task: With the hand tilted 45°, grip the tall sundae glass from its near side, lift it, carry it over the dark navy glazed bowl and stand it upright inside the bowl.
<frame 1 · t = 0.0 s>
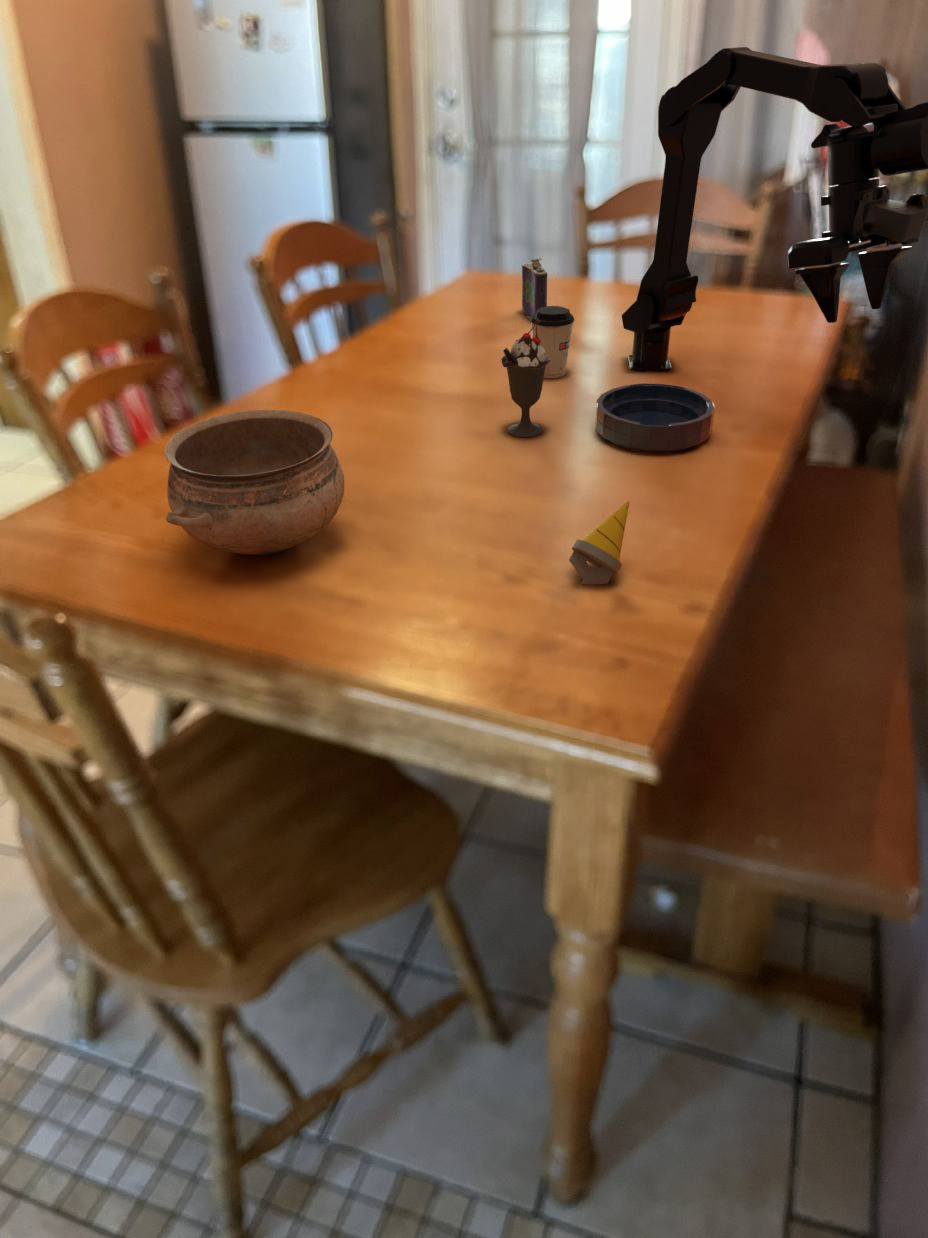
hand: (854, 315, 117), 15 cm above the table, tool pointing down, fingers open, 9 cm apart
drill bit: (597, 572, 96), on the table
flask: (534, 318, 173), on the table
cooking pot: (266, 542, 103), on the table
sundae: (525, 431, 128), on the table
coffee cup: (550, 374, 147), on the table
bowl: (652, 432, 126), on the table
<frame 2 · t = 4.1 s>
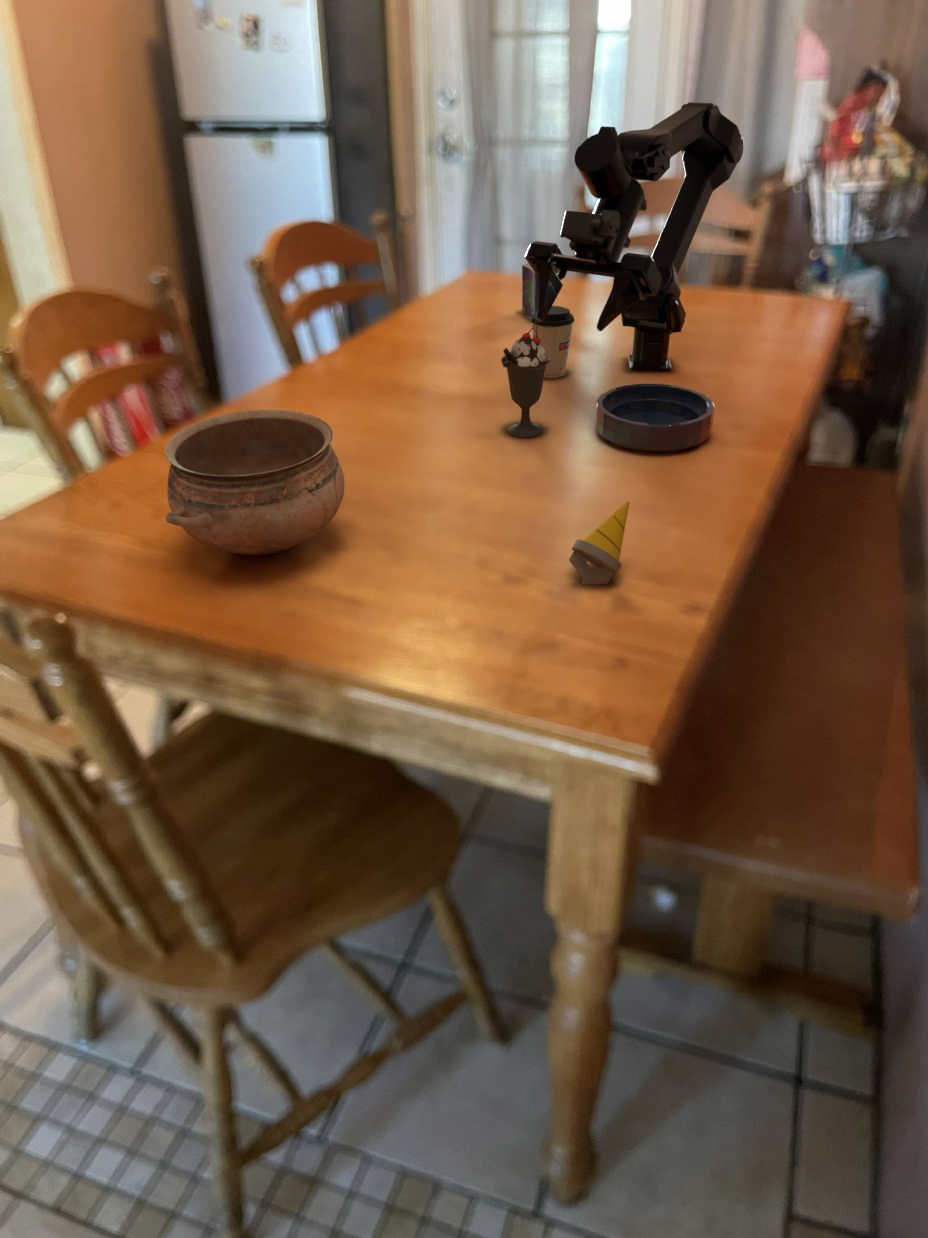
hand: (568, 324, 124), 13 cm above the table, tool tilted 45°, fingers open, 9 cm apart
nothing on the table moved.
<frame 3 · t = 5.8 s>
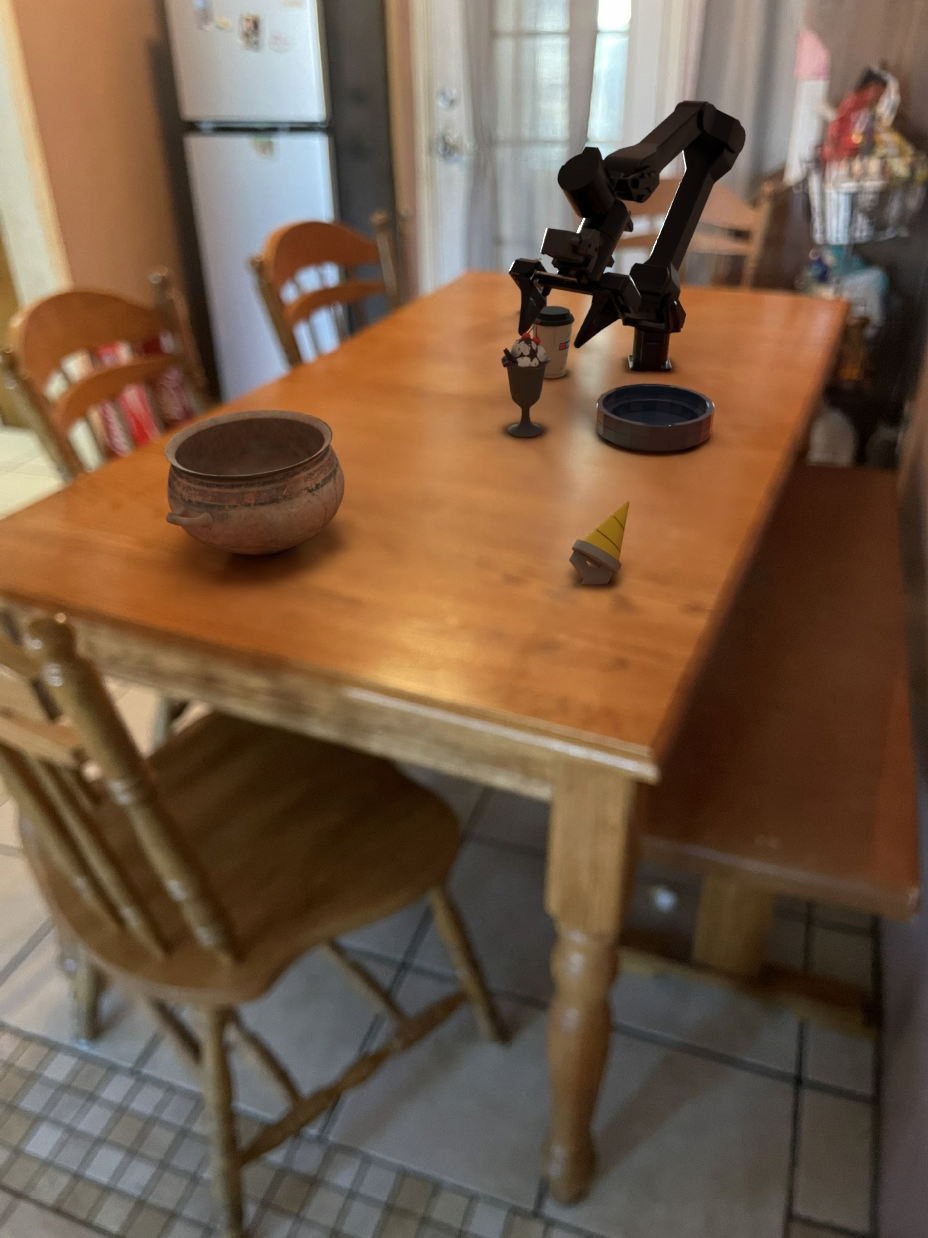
hand: (547, 340, 124), 11 cm above the table, tool tilted 45°, fingers open, 9 cm apart
nothing on the table moved.
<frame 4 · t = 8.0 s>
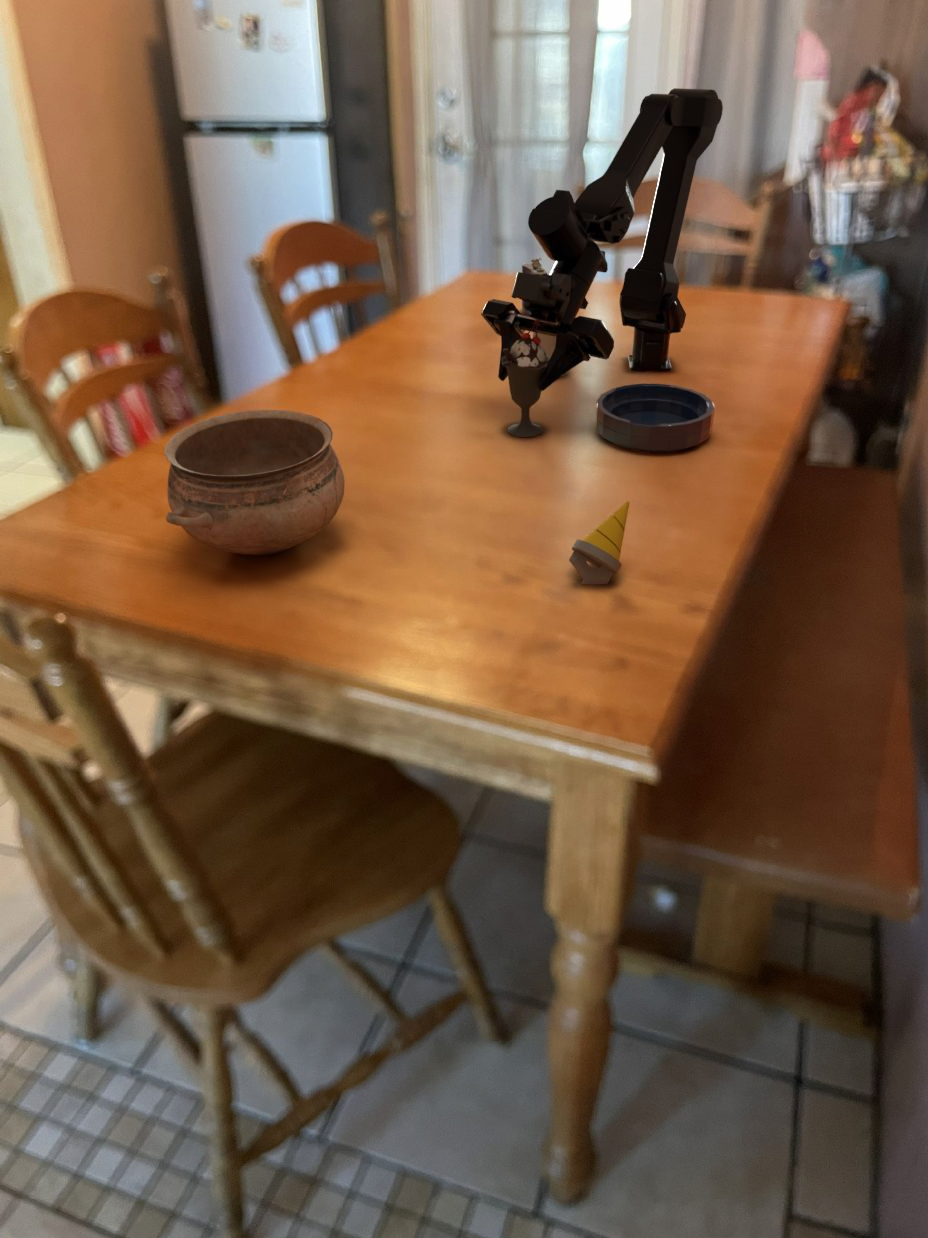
hand: (519, 384, 123), 7 cm above the table, tool tilted 45°, fingers closed on sundae, 6 cm apart
sundae: (525, 431, 128), on the table, touching gripper
everything else where it was.
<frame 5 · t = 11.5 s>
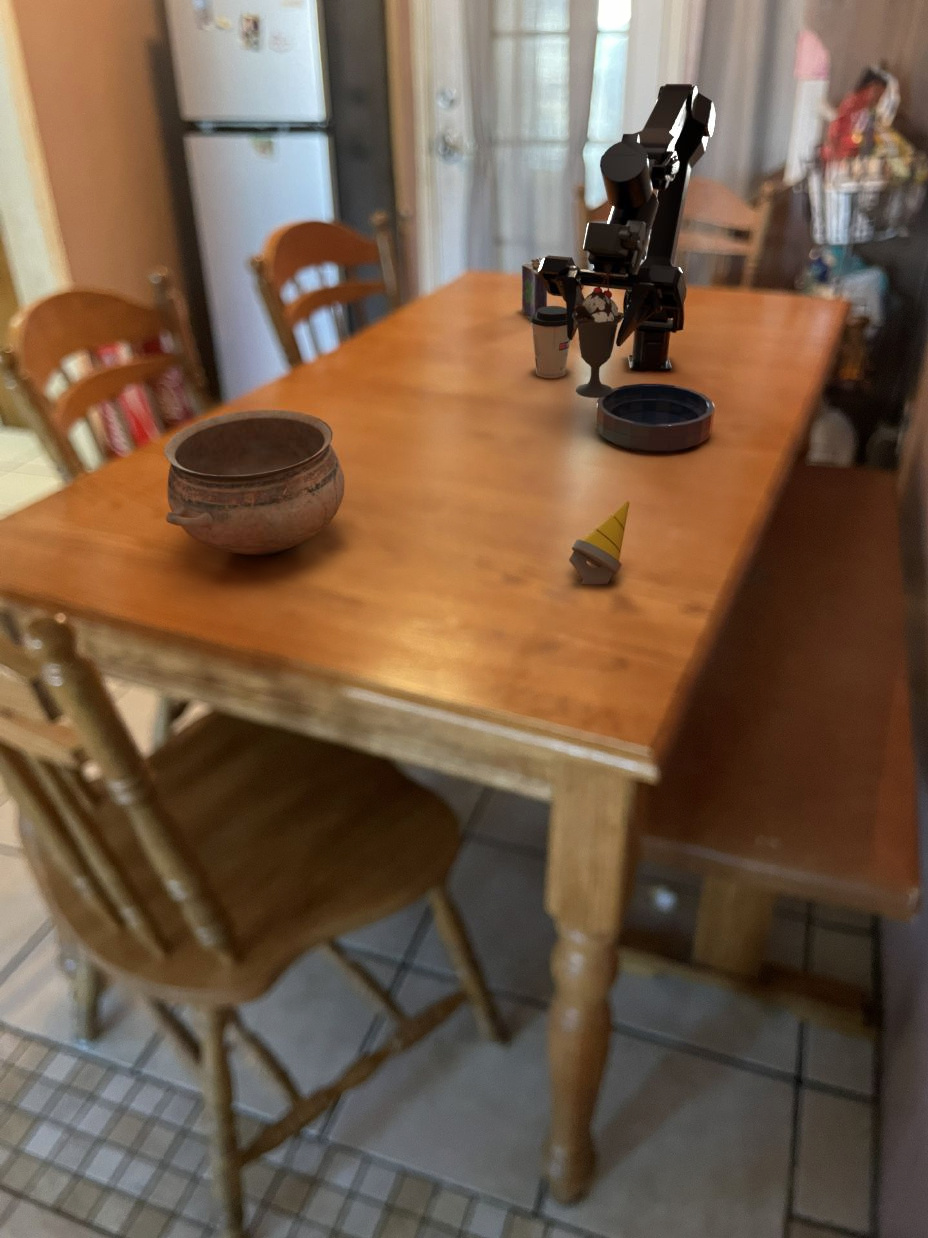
hand: (593, 341, 117), 13 cm above the table, tool tilted 45°, fingers closed on sundae, 6 cm apart
sundae: (594, 392, 123), point 6 cm above the table, touching gripper
everything else where it was.
when the fingers open (8 cm above the table, at t = 15.1 s): sundae stays where it is, resting on bowl.
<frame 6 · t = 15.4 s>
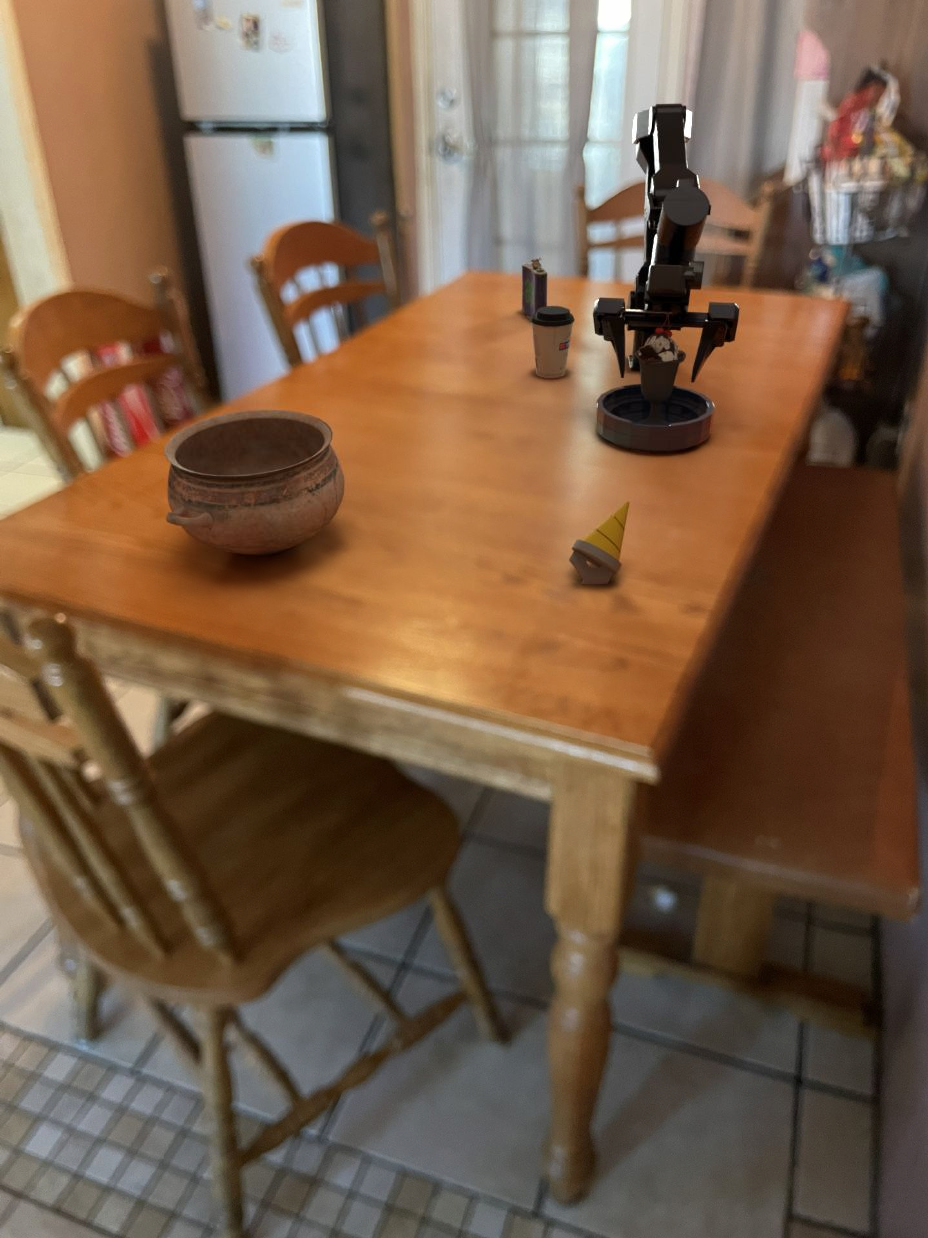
hand: (657, 378, 120), 8 cm above the table, tool tilted 45°, fingers open, 9 cm apart
sundae: (652, 427, 126), point 1 cm above the table, touching bowl
everything else where it was.
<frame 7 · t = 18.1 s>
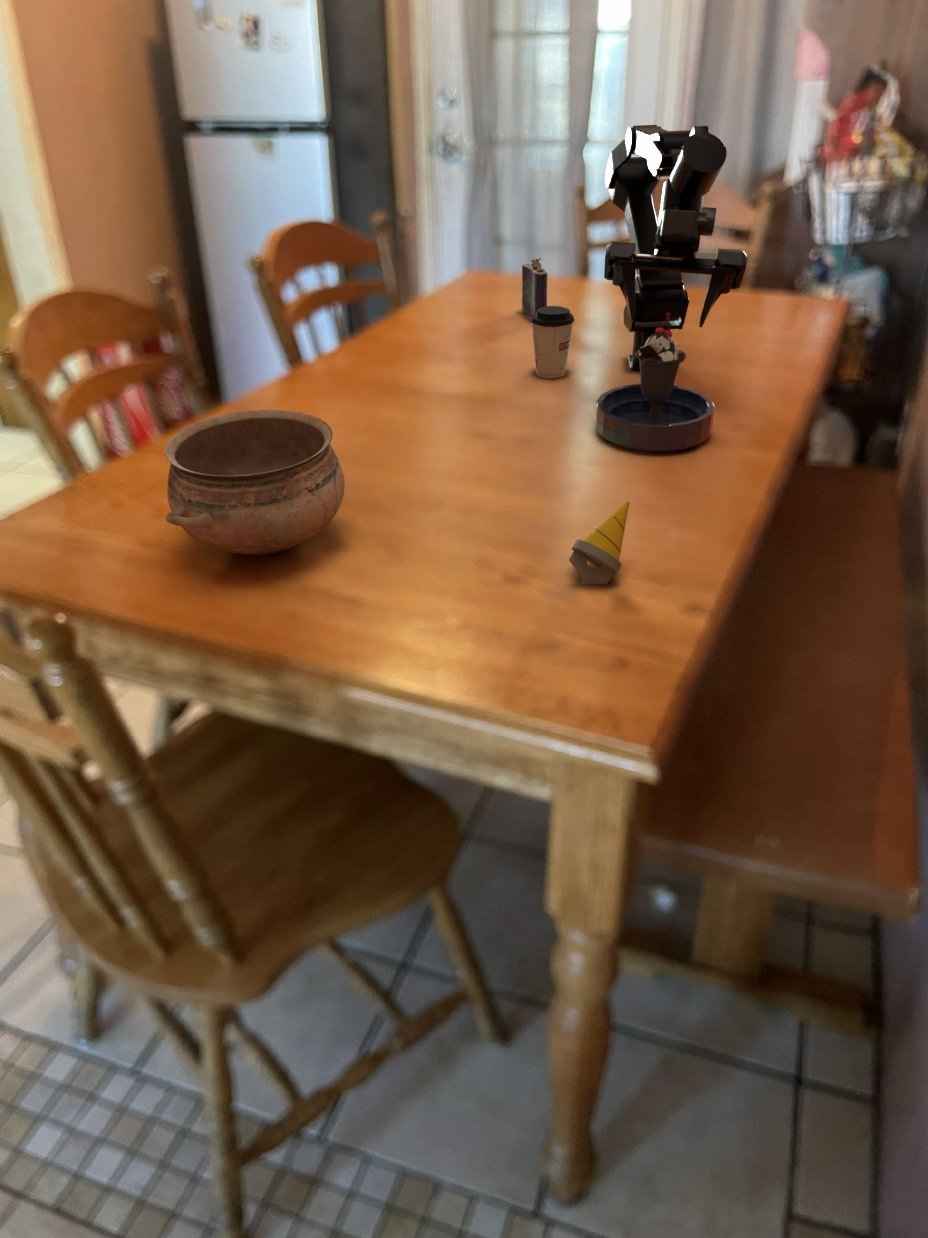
hand: (666, 322, 124), 13 cm above the table, tool tilted 45°, fingers open, 9 cm apart
nothing on the table moved.
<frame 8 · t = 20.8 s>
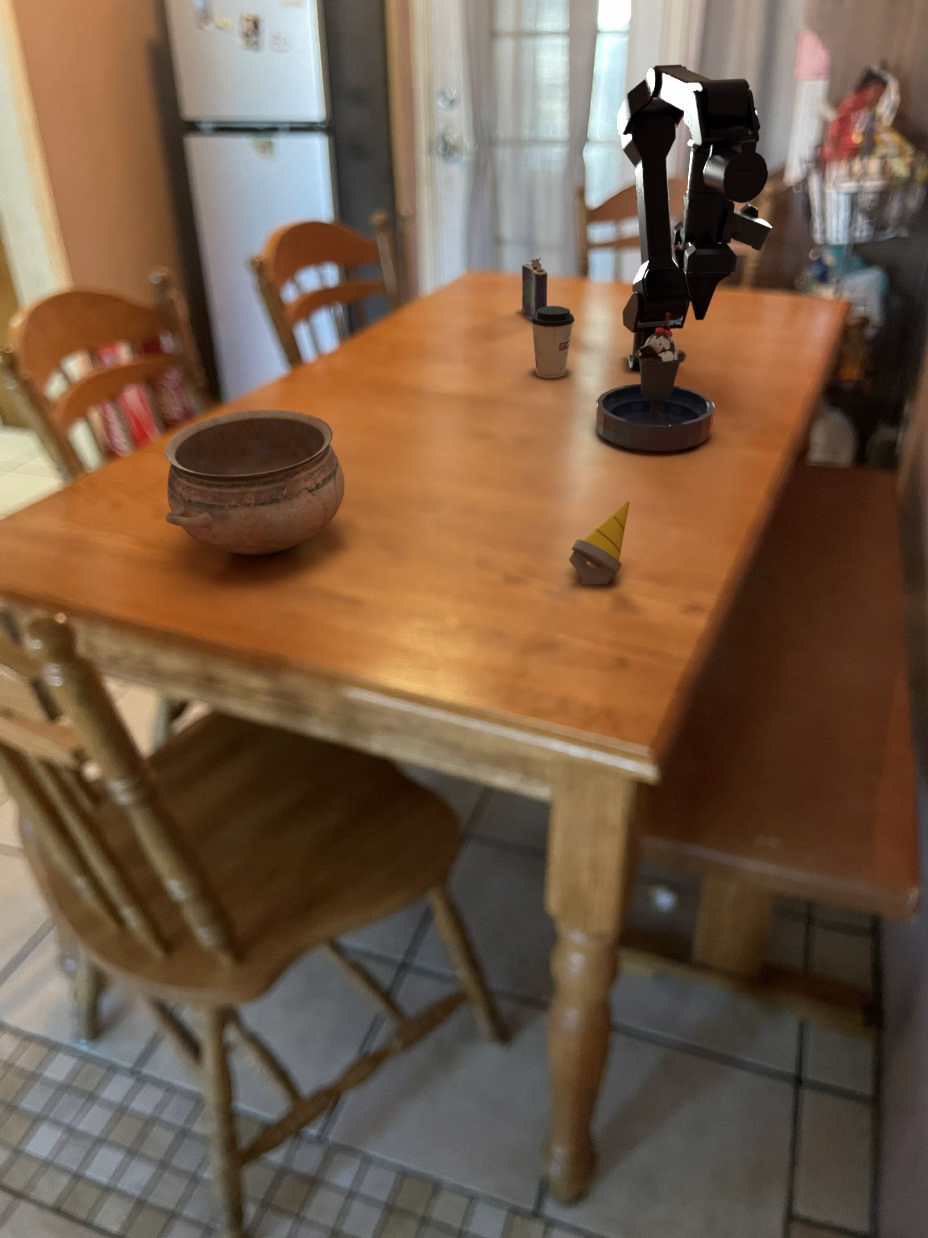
hand: (695, 310, 129), 13 cm above the table, tool pointing down, fingers open, 9 cm apart
nothing on the table moved.
at the end: sundae inside the target area in the bowl (0.2 cm from its centre), point 0.6 cm above the bowl's base; sundae tilted 0°; the gripper is holding nothing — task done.
